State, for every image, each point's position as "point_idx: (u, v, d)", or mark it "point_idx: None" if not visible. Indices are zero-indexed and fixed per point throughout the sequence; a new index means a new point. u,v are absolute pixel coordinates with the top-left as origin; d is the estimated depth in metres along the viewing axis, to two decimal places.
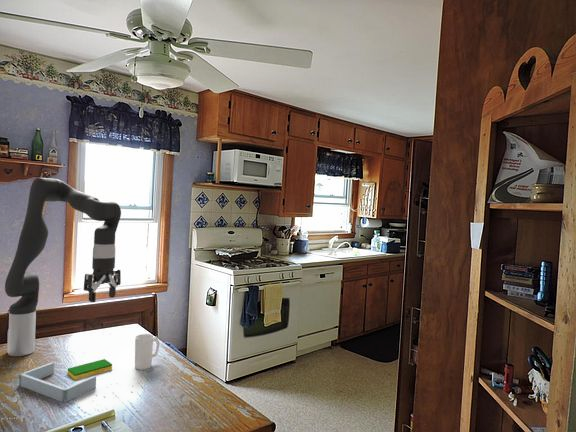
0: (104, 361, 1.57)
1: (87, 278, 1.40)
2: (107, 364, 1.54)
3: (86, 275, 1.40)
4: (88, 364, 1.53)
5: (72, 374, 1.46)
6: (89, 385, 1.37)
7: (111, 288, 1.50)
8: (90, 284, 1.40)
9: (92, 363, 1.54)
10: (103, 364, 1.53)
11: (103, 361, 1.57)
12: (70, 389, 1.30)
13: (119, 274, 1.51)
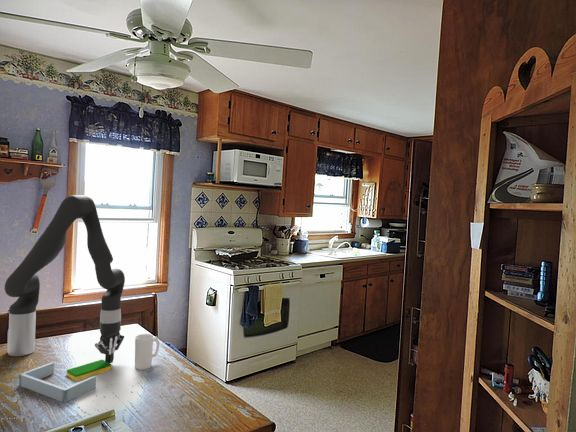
0: (102, 361, 1.56)
1: (98, 348, 1.53)
2: (106, 364, 1.54)
3: (96, 346, 1.53)
4: (87, 365, 1.52)
5: (72, 375, 1.45)
6: (89, 385, 1.37)
7: None
8: (104, 350, 1.54)
9: (91, 364, 1.53)
10: (102, 365, 1.53)
11: (101, 361, 1.56)
12: (70, 389, 1.30)
13: (121, 340, 1.62)
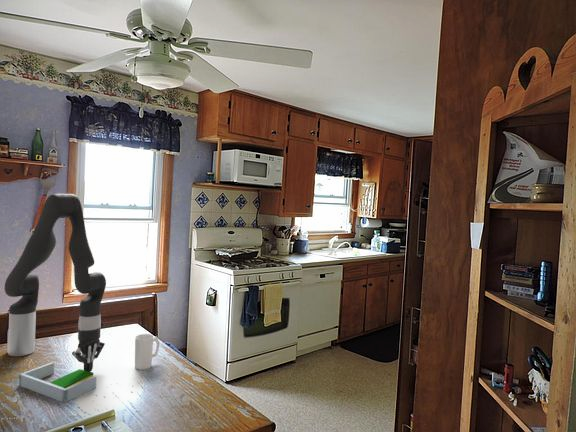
0: (82, 371, 1.47)
1: (76, 356, 1.44)
2: (88, 373, 1.46)
3: (73, 354, 1.44)
4: (67, 376, 1.42)
5: None
6: (89, 385, 1.37)
7: None
8: (82, 358, 1.46)
9: (70, 375, 1.44)
10: (84, 374, 1.45)
11: (81, 371, 1.47)
12: (70, 389, 1.30)
13: (101, 347, 1.53)
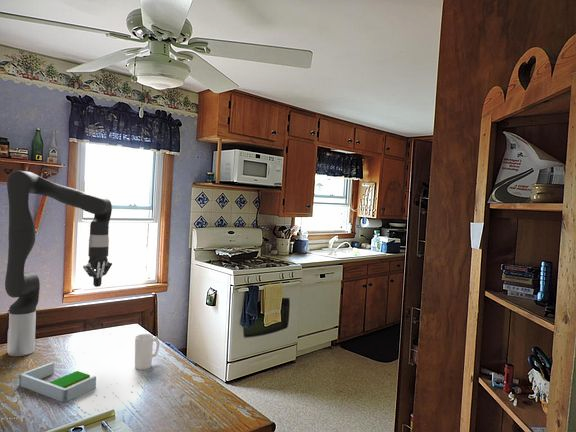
0: (79, 373, 1.45)
1: (86, 269, 1.61)
2: (85, 375, 1.44)
3: (84, 268, 1.61)
4: (63, 378, 1.41)
5: None
6: (89, 385, 1.37)
7: None
8: (92, 272, 1.63)
9: (66, 377, 1.42)
10: (80, 376, 1.43)
11: (78, 373, 1.45)
12: (70, 389, 1.30)
13: (109, 266, 1.70)
